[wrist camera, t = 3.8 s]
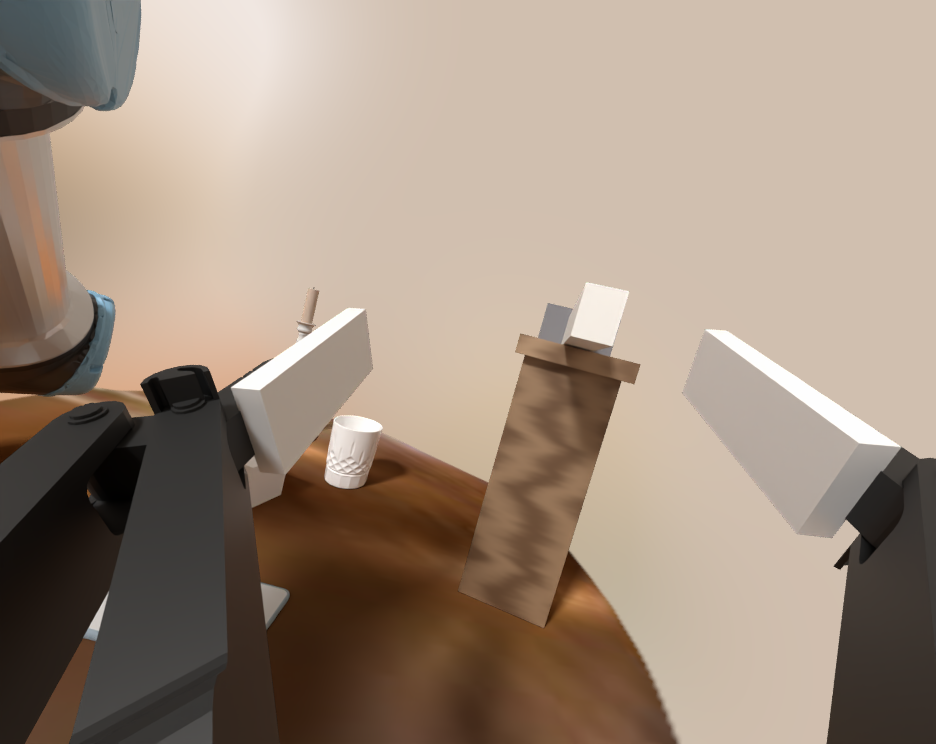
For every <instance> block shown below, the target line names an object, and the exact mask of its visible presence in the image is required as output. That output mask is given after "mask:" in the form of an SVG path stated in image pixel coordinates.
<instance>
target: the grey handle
mask: <svg viewBox="0 0 936 744" xmlns="http://www.w3.org/2000/svg"><path fill="white" fill-rule="evenodd" d="M628 294H629V291H625V290H620V289H616V288H611V287H607V286H602V285H598V284H593V283H588V282H586V284H585V286H584V288H583V290H582V292H581V294H580V296H579V298H578V300H577V302H576V304H575V306H574V308H573V309H571V308H567V307H562V306H558V305H554V304H550V303H548V305H547V308H546V312H545V316H544V319H543V322H542V326H541V330H540V333H539V337H538V338H540V339H544V340H547V341H551V342H555V343H559V344H563V345H567V346H571V347H575V348H578V349H582V350H586V351H590V352H594V353H598V354H602V355H606V356H609V357H610V354H611V351H612V348H613V344H614V341H615V337H616V334H617V331H618V328H619V325H620V321H621V317H622V314H623V310H624V307H625V304H626V301H627V297H628Z"/></svg>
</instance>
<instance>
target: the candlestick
mask: <svg viewBox="0 0 936 744" xmlns="http://www.w3.org/2000/svg"><path fill="white" fill-rule="evenodd" d="M318 294H319V291H317V290H314V289H310V288H308V291H307V296H306V301H305V305H304V310H303V314H302V319H301V321H297V322H298V324H299V326H298V328H297V329H298V331H299V338H298V339H297V342H299V341H300V340H302V339H303V338H304V337H306V336H307V335H309V334H310V333H312V328H313V327H314V326H316V325H315V324H312V321H313V316H314V312H315V307H316V302H317V298H318ZM297 342H296V343H297Z"/></svg>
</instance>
